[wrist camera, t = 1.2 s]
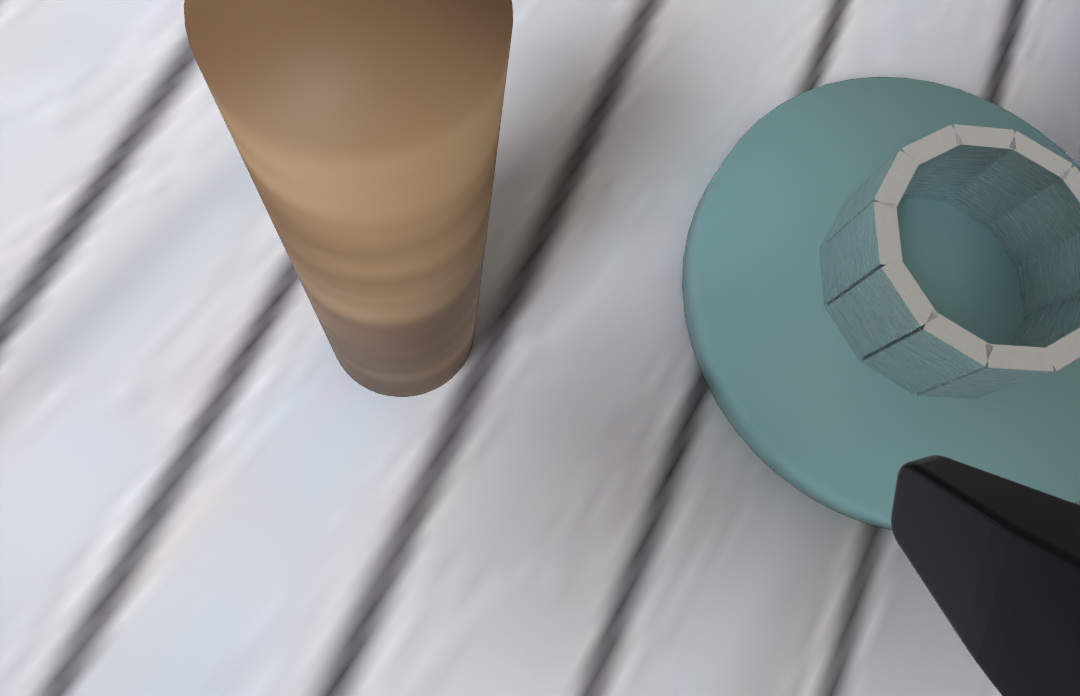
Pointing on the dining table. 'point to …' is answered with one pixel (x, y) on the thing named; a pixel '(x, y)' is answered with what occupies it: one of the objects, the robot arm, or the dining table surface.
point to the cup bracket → (892, 292)
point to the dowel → (370, 161)
